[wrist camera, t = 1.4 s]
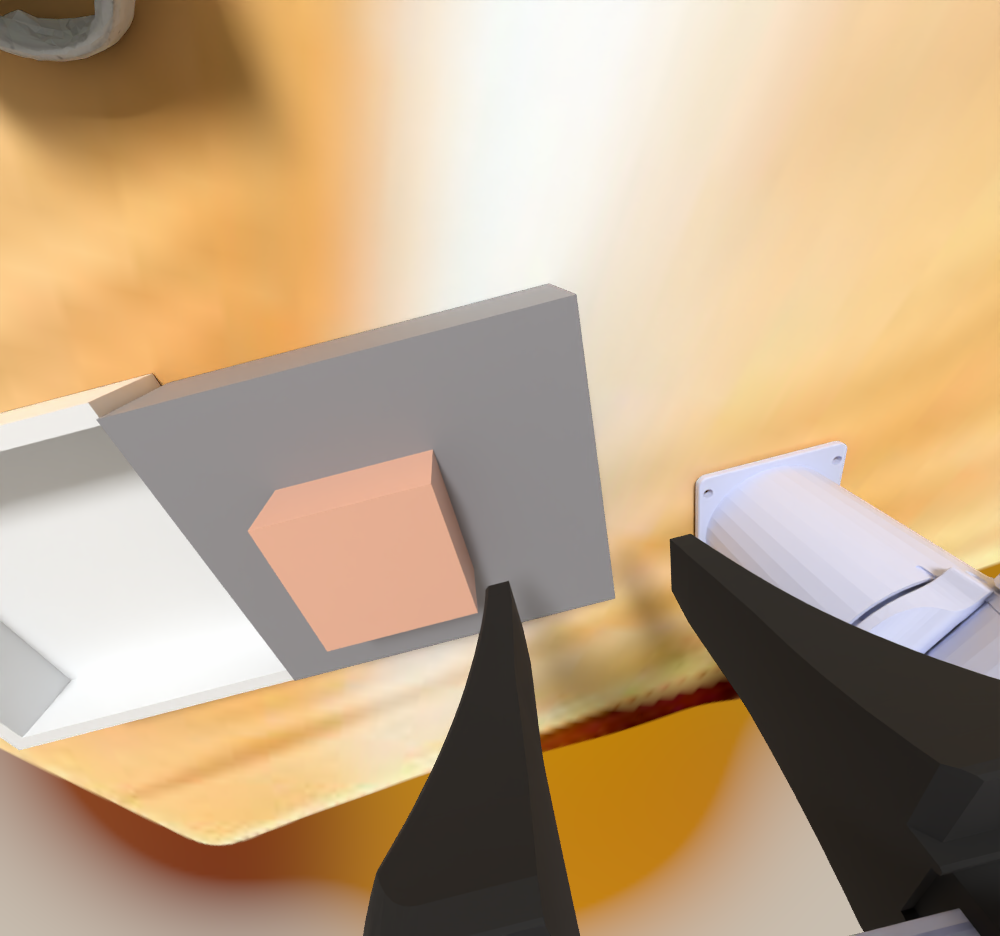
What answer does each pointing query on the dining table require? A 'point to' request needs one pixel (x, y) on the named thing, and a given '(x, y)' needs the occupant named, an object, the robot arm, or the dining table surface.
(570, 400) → the board
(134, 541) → the bin
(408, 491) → the terracotta tile
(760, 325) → the dining table surface
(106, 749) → the dining table surface
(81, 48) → the ceramic mug
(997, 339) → the dining table surface
